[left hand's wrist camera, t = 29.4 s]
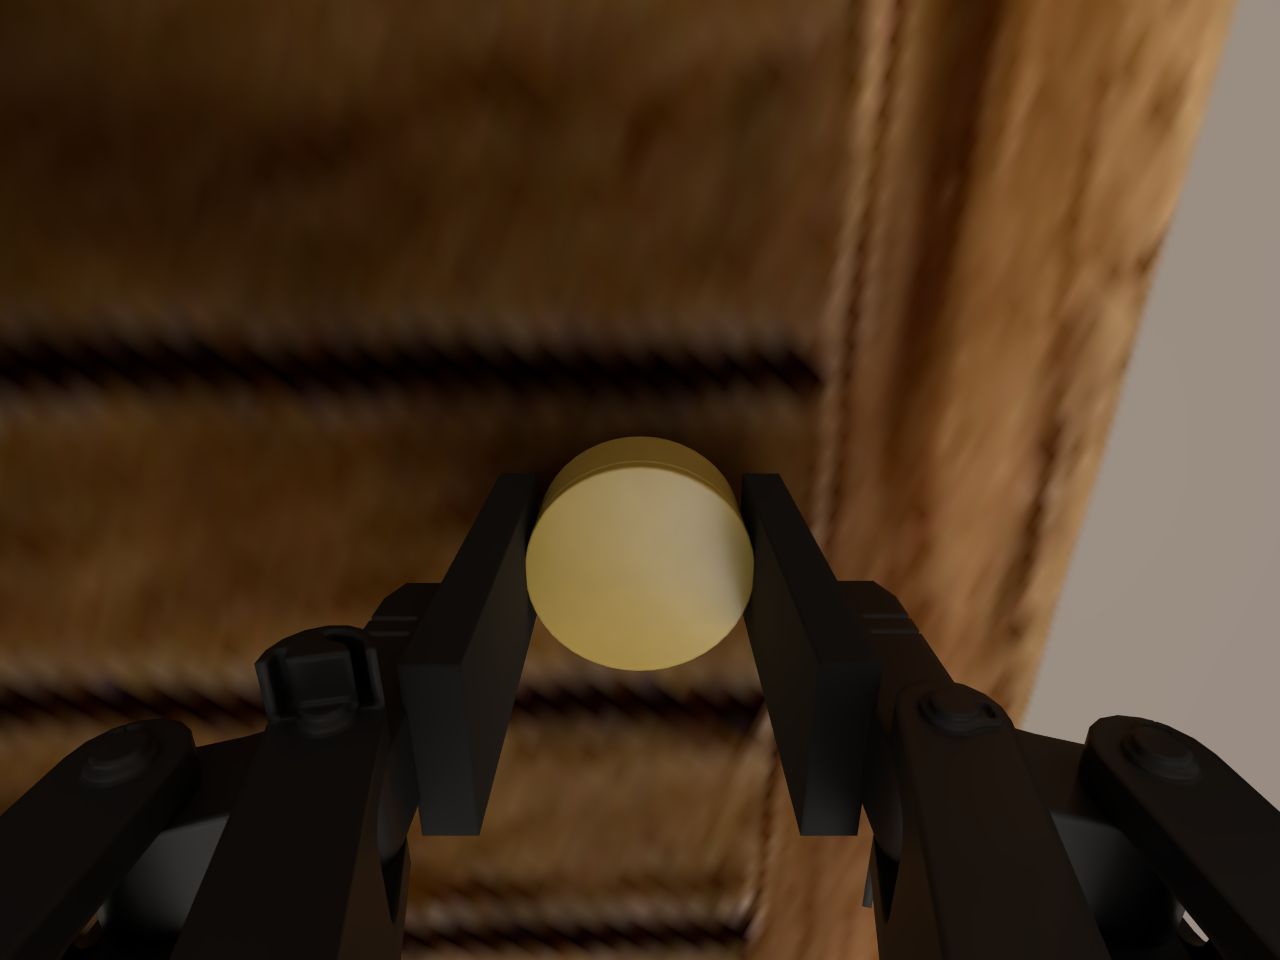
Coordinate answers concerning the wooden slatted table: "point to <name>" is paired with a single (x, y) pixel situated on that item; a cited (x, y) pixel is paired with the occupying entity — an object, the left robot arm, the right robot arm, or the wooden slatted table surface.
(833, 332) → the wooden slatted table surface
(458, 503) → the wooden slatted table surface
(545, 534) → the cap
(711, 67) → the wooden slatted table surface
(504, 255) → the wooden slatted table surface
